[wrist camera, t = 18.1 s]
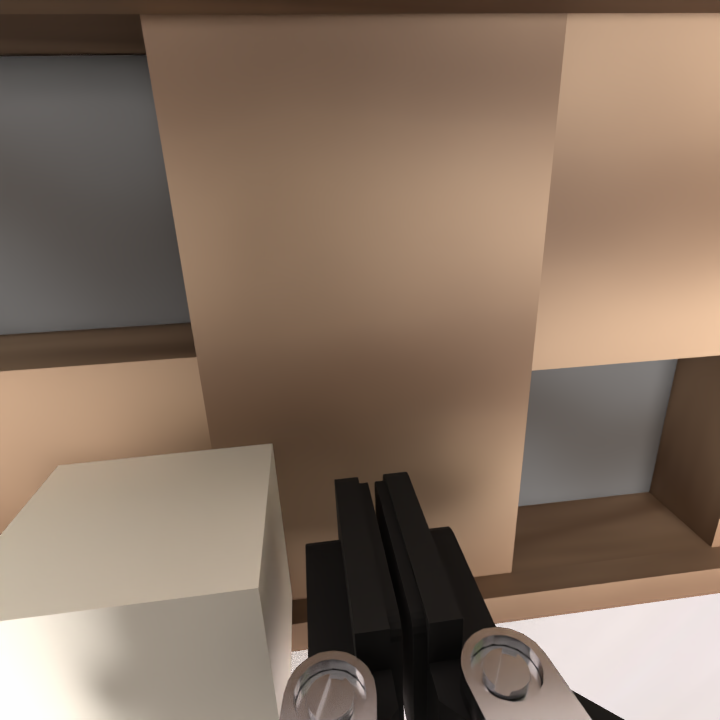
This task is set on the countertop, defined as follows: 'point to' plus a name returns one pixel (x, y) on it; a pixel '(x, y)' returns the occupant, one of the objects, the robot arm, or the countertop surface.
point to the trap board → (380, 268)
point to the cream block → (148, 591)
